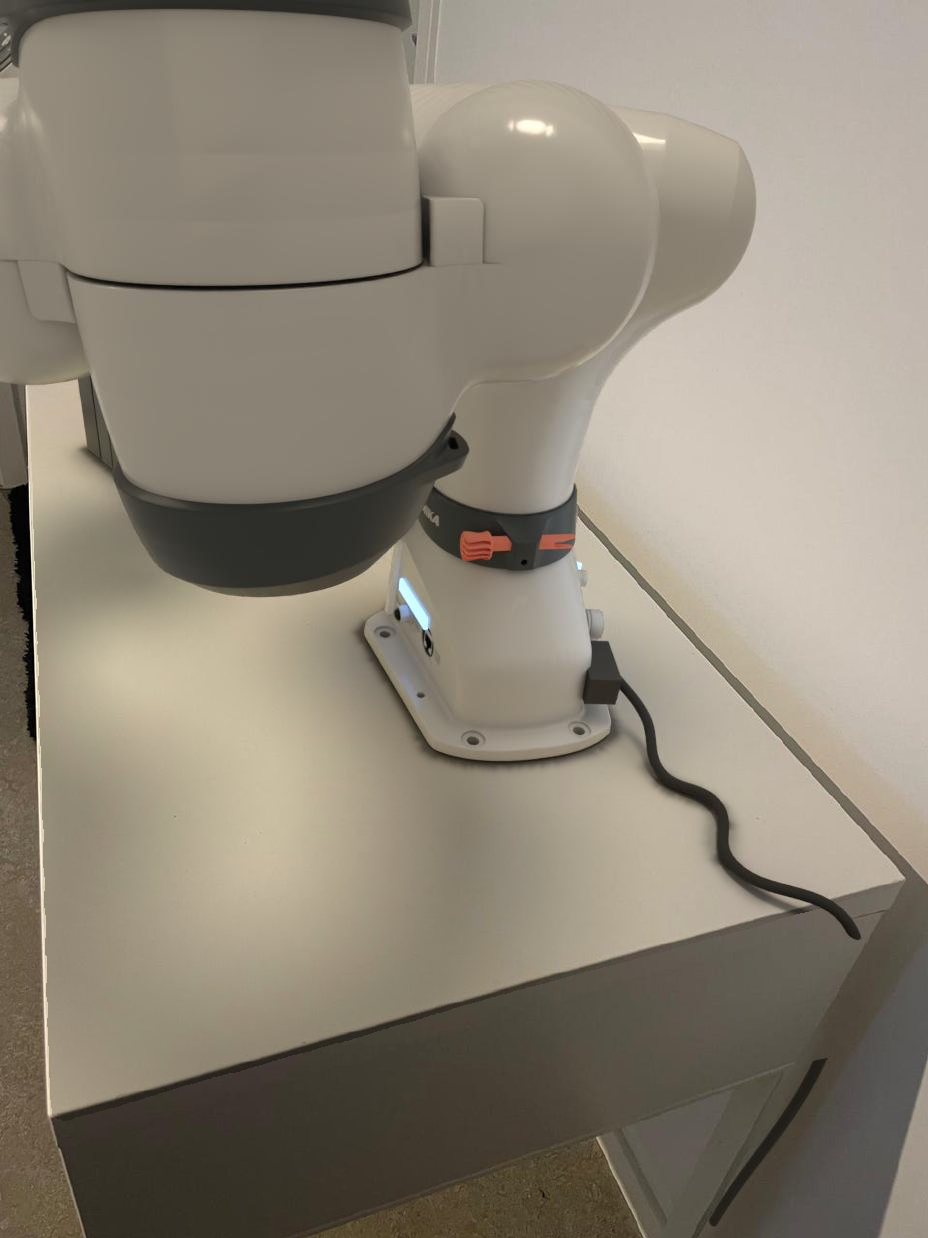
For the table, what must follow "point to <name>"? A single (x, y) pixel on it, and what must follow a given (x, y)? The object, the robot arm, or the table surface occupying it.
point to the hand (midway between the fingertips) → (276, 315)
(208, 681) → the table surface
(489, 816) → the table surface
